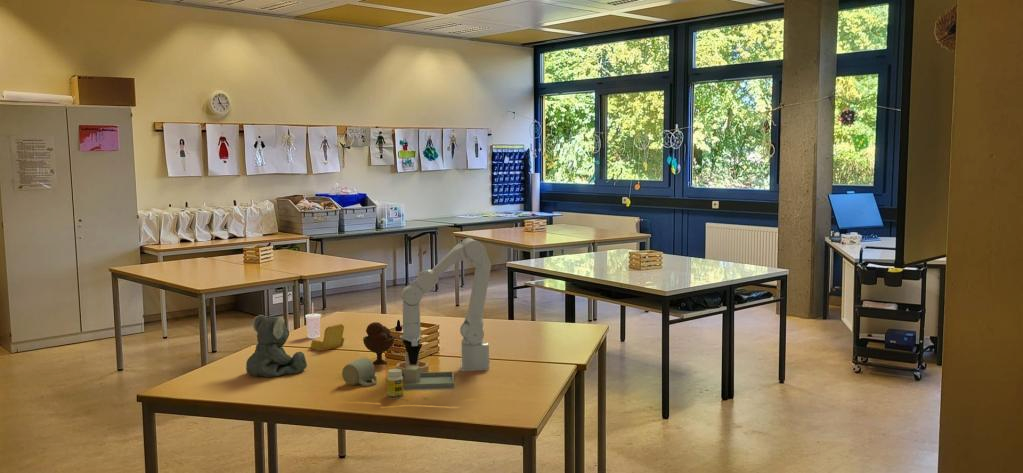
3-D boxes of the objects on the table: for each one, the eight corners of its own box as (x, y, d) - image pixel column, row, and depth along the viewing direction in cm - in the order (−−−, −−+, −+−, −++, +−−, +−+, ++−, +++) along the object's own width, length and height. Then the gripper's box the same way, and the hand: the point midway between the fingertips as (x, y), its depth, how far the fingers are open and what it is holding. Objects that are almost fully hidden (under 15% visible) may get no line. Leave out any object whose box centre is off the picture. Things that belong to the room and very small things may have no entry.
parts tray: (453, 375, 258) (453, 369, 258) (454, 390, 241) (454, 384, 241) (401, 376, 257) (401, 371, 257) (397, 392, 240) (397, 386, 240)
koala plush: (310, 371, 264) (308, 314, 262) (261, 382, 251) (259, 322, 249) (283, 362, 276) (281, 307, 274) (235, 372, 263) (232, 315, 261)
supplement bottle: (396, 401, 231) (395, 373, 230) (383, 398, 234) (383, 371, 233) (406, 396, 235) (406, 369, 234) (394, 394, 238) (393, 367, 237)
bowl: (429, 368, 266) (428, 360, 266) (428, 377, 256) (428, 368, 255) (397, 369, 265) (397, 361, 265) (395, 378, 255) (395, 369, 254)
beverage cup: (303, 338, 312) (302, 303, 311) (309, 335, 318) (308, 301, 317) (317, 339, 311) (316, 304, 310) (324, 335, 317) (322, 301, 316)
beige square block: (420, 381, 249) (420, 366, 249) (416, 385, 245) (416, 369, 245) (408, 381, 250) (407, 365, 249) (404, 384, 246) (403, 369, 245)
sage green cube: (417, 365, 263) (416, 351, 262) (418, 368, 259) (418, 353, 258) (405, 366, 262) (404, 351, 261) (406, 369, 258) (406, 354, 257)
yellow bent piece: (330, 343, 305) (329, 320, 304) (347, 346, 299) (346, 322, 298) (308, 348, 296) (308, 324, 295) (325, 352, 291) (324, 327, 290)
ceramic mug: (340, 384, 248) (340, 361, 247) (358, 378, 255) (357, 355, 254) (366, 390, 243) (365, 366, 242) (383, 383, 250) (383, 360, 249)
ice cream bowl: (389, 369, 266) (388, 325, 265) (358, 367, 268) (357, 324, 267) (400, 361, 276) (399, 319, 275) (370, 359, 279) (369, 318, 277)
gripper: (397, 318, 265) (397, 358, 266) (402, 327, 251) (402, 369, 252) (417, 317, 266) (418, 356, 268) (424, 326, 253) (424, 367, 254)
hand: (412, 362), depth 260 cm, fingers closed on sage green cube, 4 cm apart
